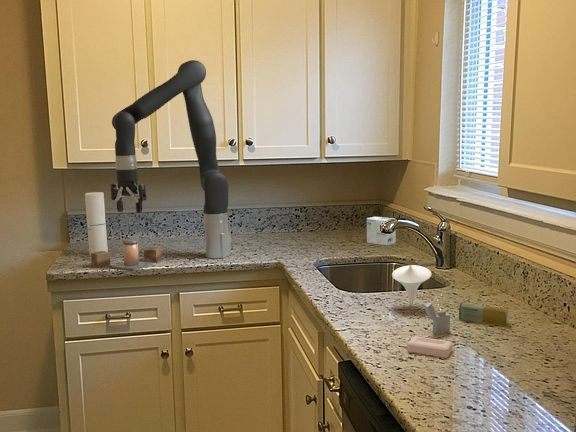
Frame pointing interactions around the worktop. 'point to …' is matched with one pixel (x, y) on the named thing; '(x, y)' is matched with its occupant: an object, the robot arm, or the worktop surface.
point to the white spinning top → (411, 278)
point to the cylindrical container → (96, 222)
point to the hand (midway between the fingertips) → (129, 212)
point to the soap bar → (429, 346)
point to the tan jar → (131, 252)
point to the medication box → (483, 314)
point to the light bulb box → (379, 232)
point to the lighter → (438, 319)
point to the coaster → (132, 268)
